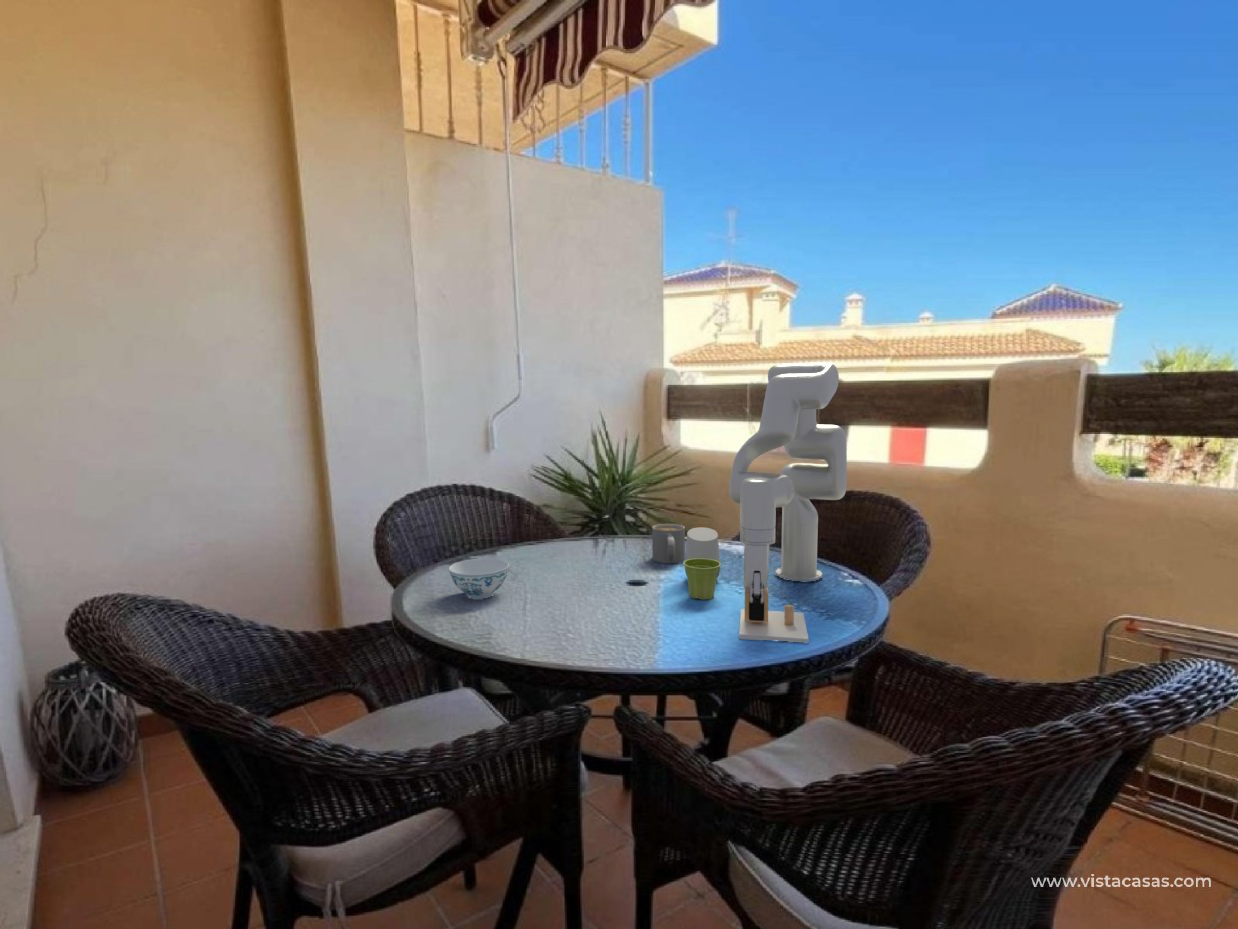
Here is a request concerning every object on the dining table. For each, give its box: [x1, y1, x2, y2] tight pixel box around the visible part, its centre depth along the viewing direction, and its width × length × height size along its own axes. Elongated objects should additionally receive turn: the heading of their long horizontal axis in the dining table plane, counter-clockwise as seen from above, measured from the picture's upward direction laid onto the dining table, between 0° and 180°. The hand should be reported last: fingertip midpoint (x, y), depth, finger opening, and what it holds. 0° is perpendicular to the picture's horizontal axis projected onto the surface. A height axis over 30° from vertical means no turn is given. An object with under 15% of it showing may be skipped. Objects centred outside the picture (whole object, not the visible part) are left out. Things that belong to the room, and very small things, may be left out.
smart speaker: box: [684, 526, 721, 580], centre depth 179 cm, size 10×9×14 cm
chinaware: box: [448, 558, 510, 600], centre depth 168 cm, size 15×15×8 cm
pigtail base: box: [738, 604, 809, 643], centre depth 143 cm, size 16×14×5 cm
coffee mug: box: [651, 523, 686, 564], centre depth 200 cm, size 13×10×10 cm
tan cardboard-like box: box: [744, 586, 769, 623], centre depth 144 cm, size 5×5×6 cm
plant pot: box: [682, 558, 722, 601], centre depth 165 cm, size 9×9×9 cm
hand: (756, 615), depth 144 cm, fingers closed on tan cardboard-like box, 4 cm apart
